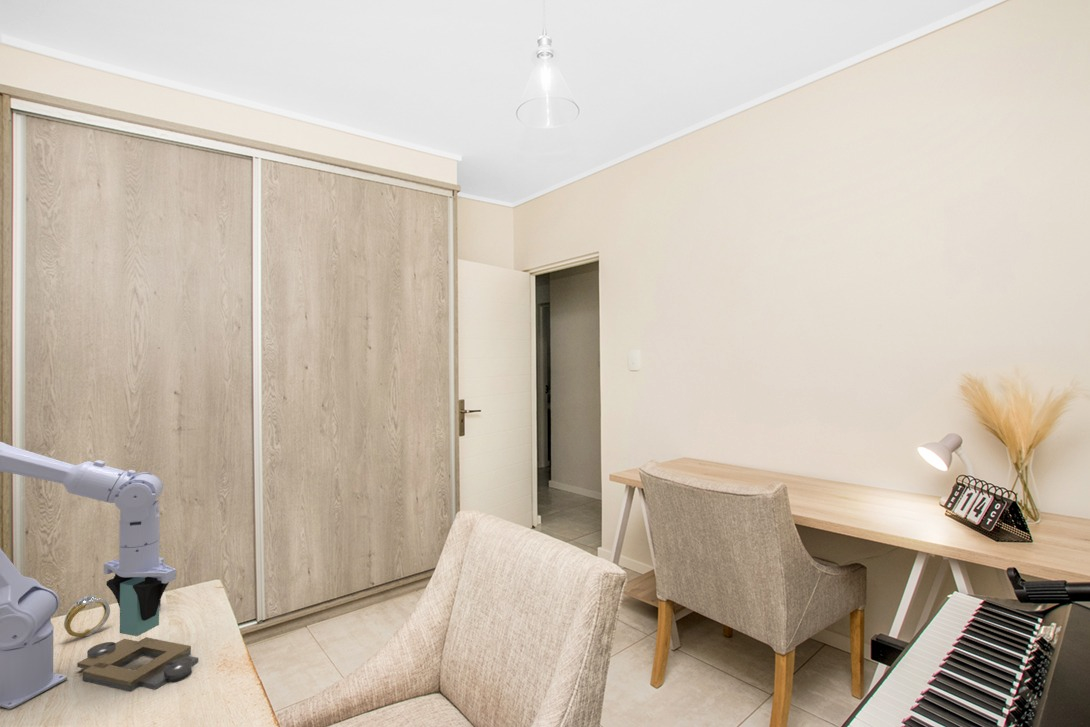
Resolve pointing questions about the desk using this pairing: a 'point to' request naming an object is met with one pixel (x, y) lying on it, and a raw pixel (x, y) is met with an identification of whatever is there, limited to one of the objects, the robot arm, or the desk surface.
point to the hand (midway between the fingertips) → (139, 615)
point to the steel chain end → (168, 673)
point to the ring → (73, 611)
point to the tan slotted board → (111, 654)
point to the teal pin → (133, 610)
